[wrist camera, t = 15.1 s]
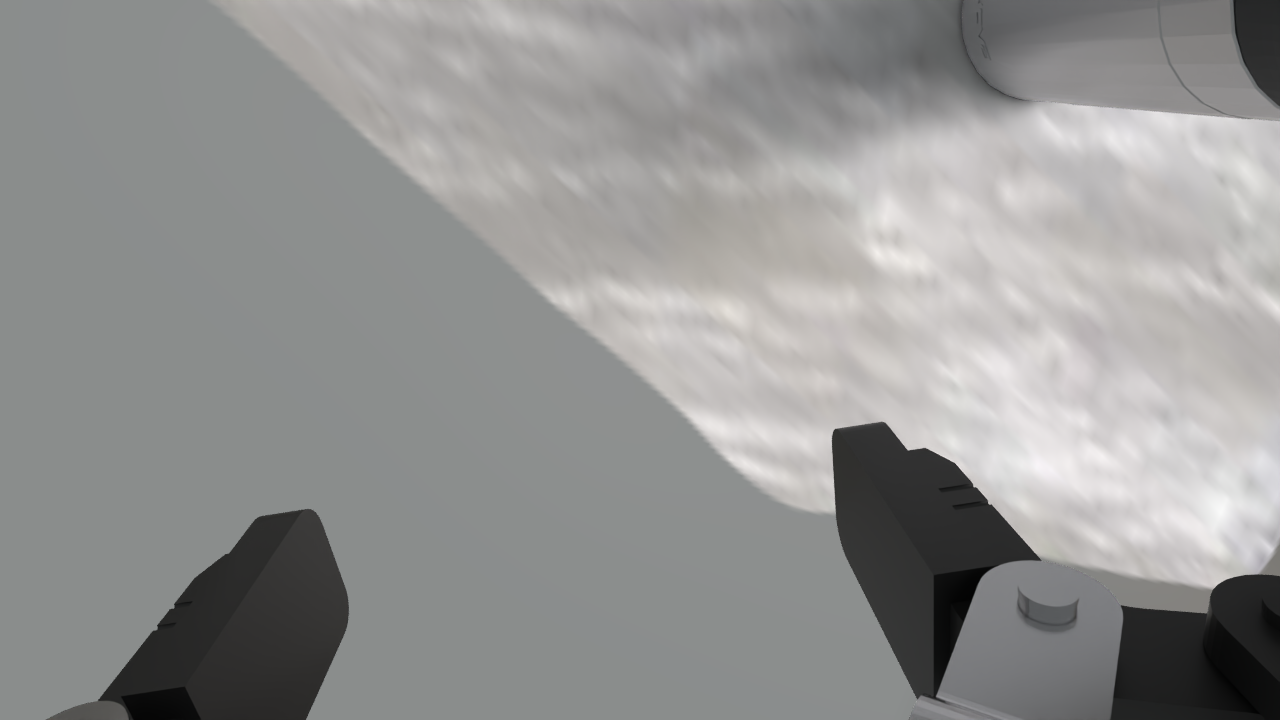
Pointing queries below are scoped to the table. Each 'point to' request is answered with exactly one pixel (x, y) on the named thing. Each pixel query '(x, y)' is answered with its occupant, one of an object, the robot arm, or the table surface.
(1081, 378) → the table surface
